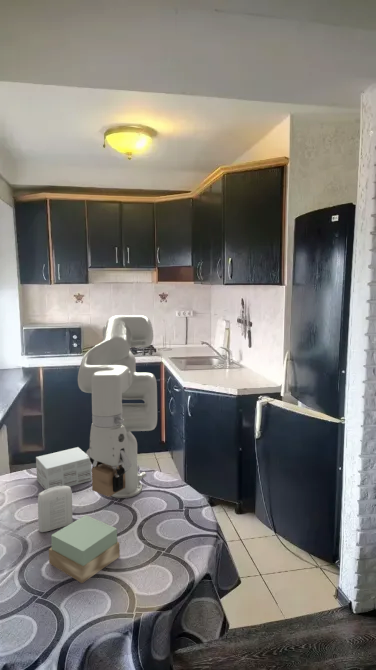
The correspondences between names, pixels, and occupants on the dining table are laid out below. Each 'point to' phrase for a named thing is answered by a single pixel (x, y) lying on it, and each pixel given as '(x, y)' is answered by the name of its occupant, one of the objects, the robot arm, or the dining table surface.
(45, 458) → the supplement box
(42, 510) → the photo printer
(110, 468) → the walnut cube
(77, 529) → the sage top block
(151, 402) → the robot arm
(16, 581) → the dining table surface
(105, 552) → the maple base block
